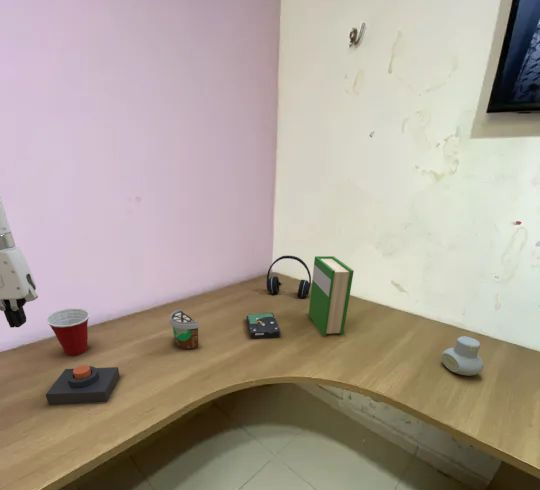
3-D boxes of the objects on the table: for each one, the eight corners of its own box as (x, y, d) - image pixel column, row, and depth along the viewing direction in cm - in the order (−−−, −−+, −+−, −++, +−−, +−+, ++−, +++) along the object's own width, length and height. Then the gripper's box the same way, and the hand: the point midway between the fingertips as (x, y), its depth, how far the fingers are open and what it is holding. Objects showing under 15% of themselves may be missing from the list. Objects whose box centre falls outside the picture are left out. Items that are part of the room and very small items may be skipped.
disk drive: (280, 338, 107) (272, 318, 120) (281, 330, 106) (272, 311, 119) (250, 339, 105) (246, 319, 118) (251, 332, 104) (246, 313, 117)
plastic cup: (68, 365, 87) (58, 327, 82) (48, 353, 92) (37, 317, 87) (104, 348, 96) (97, 313, 91) (84, 338, 101) (76, 304, 96)
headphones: (264, 294, 142) (266, 255, 134) (268, 289, 148) (270, 252, 140) (308, 300, 138) (312, 260, 130) (310, 295, 144) (314, 256, 136)
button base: (48, 404, 73) (43, 388, 71) (68, 378, 82) (63, 363, 80) (107, 402, 75) (103, 385, 73) (119, 376, 84) (116, 361, 82)
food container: (165, 339, 102) (162, 312, 98) (182, 334, 106) (180, 307, 102) (182, 356, 94) (179, 327, 90) (200, 349, 98) (198, 321, 93)
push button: (71, 380, 75) (70, 374, 74) (78, 371, 78) (76, 365, 77) (87, 379, 75) (86, 373, 74) (93, 370, 78) (92, 364, 78)
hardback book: (343, 335, 110) (353, 270, 100) (323, 336, 109) (332, 270, 99) (326, 314, 126) (333, 256, 116) (308, 314, 124) (314, 256, 114)
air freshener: (484, 379, 90) (497, 349, 86) (460, 381, 88) (471, 352, 84) (457, 358, 99) (466, 331, 95) (434, 360, 98) (443, 332, 94)
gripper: (-69, 246, 57) (-32, 333, 65) (19, 247, 59) (46, 331, 67) (-38, 238, 64) (-7, 318, 71) (41, 238, 66) (62, 316, 73)
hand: (18, 324), depth 69 cm, fingers closed
